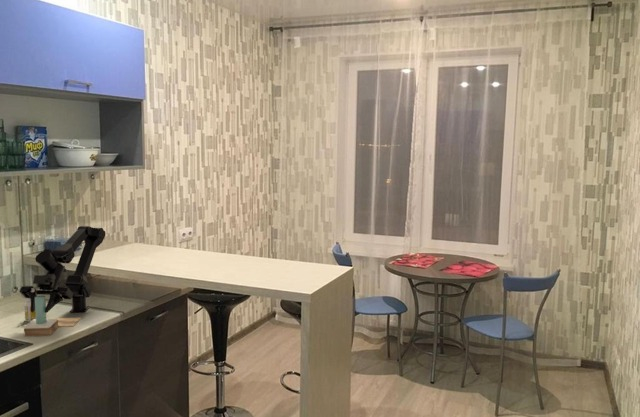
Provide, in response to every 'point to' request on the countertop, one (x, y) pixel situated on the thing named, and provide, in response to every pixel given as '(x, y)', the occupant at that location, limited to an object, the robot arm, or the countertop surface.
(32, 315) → the supplement bottle
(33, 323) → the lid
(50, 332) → the walnut box
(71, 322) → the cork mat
